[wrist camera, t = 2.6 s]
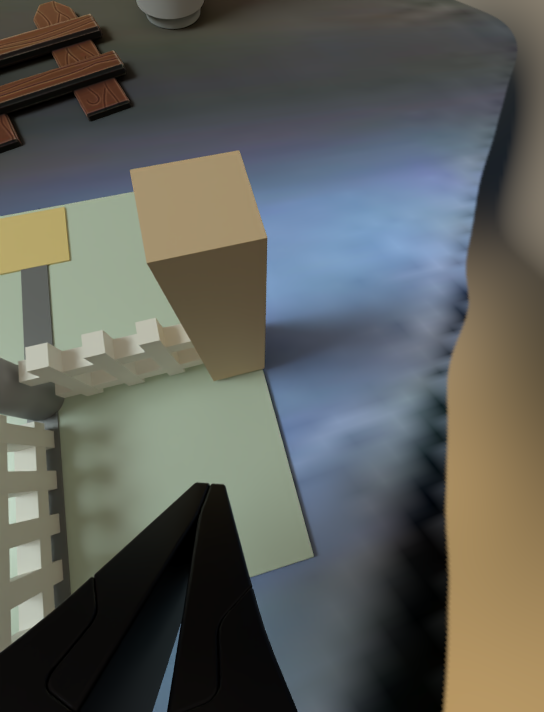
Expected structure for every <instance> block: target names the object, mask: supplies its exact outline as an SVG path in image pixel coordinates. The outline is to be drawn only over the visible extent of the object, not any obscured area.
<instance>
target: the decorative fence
mask: <svg viewBox="0 0 544 712" xmlns="http://www.w3.org/2000/svg"><path fill="white" fill-rule="evenodd" d="M34 22H35V24H36V26H37V28H38V29H36V30H33V31H29V32H26V33H23V34H19V35H16V36H12V37H9V38H5V39H2V40H0V69H1V68H4V67H7V66H10V65H14V64H17V63H20V62H24V61H27V60H30V59H33V58H37V57H40V56H43V55H46V54H50V53H52V55H53V57H54V59H55V60H56V62H57V64H58V66H59V68H56V69H53V70H50V71H47V72H43V73H40V74H37V75H34V76H31V77H27V78H24V79H21V80H18V81H15V82H12V83H8V84H5V85H2V86H0V153H2V152H5V151H8V150H11V149H13V148H16V147H19V146H21V145H22V143H21V141H20V139H19V137H18V135H17V133H16V130H15V128H14V126H13V124H12V122H11V119H10V117H9V115H8V114H9V113H12V112H15V111H18V110H21V109H24V108H27V107H30V106H33V105H36V104H39V103H42V102H45V101H48V100H51V99H54V98H57V97H60V96H63V95H66V94H69V93H72V92H73V93H74V94H75V96H76V98H77V100H78V102H79V103H80V105H81V107H82V109H83V111H84V112H85V114H86V116H87V118H88V120H89V121H93V120H96V119H99V118H102V117H105V116H108V115H110V114H113V113H116V112H119V111H122V110H125V109H128V108H130V107H131V103H130V101H129V99H128V98H127V96H126V94H125V93H124V91H123V90H122V88H121V86H120V85H119V83H118V81H117V80H116V78H118V77H121V76H124V75H126V72H127V71H126V68H125V66H124V64H123V63H122V61H121V59H120V58H119V56H118V55H117V53H116V52H115V51H110V52H107V53H104V54H100V53H99V51H98V49H97V48H96V46H95V45H94V43H93V41H92V40H96V39H99V38H102V31H101V29H100V27H99V25H98V24H97V22H96V21H95V19H94V18H93V16H92V15H90V14H88V15H85V16H81V17H77V16H76V14H75V12H74V11H73V9H71V8H70V7H67V6H65V5H62V4H60V3H57V2H54V1H51V2H48V3H44V4H41V5H39V7H38V10H37V12H36V14H35V17H34Z"/></svg>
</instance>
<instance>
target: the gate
mask: <svg viewBox="0 0 544 712" xmlns="http://www.w3.org/2000/svg"><path fill="white" fill-rule="evenodd" d="M130 173H131V179H132V184H133V190H134V195H135V201H136V207H137V212H138V218H139V223H140V229H141V235H142V240H143V246H144V251H145V257H146V263H147V265H148V266H149V268H150V270H151V272H152V273H153V275H154V277H155V279H156V281H157V282H158V284H159V286H160V288H161V289H162V291H163V293H164V295H165V296H166V298H167V300H168V302H169V303H170V305H171V307H172V309H173V310H174V312H175V314H176V316H177V317H178V319H179V321H180V323H181V324H177V325H172V326H168V327H164V328H163V327H162V326H161V324H160V323H159V322H158V320H157V319H156V318H152V319H148V320H143V321H139V322H135V325H136V332H137V334H134V335H129V336H125V337H121V338H116V339H113V338H111V337H110V336H109V335H108V334H107V333H106V332H104V331H103V330H100V331H95V332H91V333H86V334H82V335H81V339H82V347H77V348H73V349H69V350H64V351H61V350H60V349H58V348H56V347H54V346H53V345H51V344H49V343H43V344H38V345H34V346H29V347H25V355H26V360H21V361H18V368H19V382H20V383H23V384H26V385H28V386H35V385H39V384H43V383H48V382H53V383H55V394H56V395H57V396H60V397H63V398H67V397H71V396H75V395H79V394H83V395H85V396H91V395H95V394H99V393H103V392H104V391H103V388H107V387H111V386H115V385H119V384H123V383H125V384H127V385H128V386H131V385H135V384H139V383H143V382H145V378H148V377H152V376H156V375H160V374H164V373H167V374H168V375H169V376H171V375H175V374H179V373H183V372H185V368H188V367H192V366H196V365H200V364H204V365H205V367H206V369H207V370H208V372H209V374H210V376H211V377H212V379H213V381H217V380H221V379H225V378H228V377H232V376H236V375H240V374H244V373H248V372H252V371H256V370H260V369H264V368H265V323H266V273H267V236H266V233H265V229H264V226H263V223H262V220H261V217H260V214H259V211H258V207H257V204H256V201H255V198H254V195H253V192H252V189H251V186H250V182H249V179H248V176H247V173H246V170H245V167H244V164H243V161H242V157H241V154H240V151H233V152H227V153H222V154H216V155H211V156H205V157H199V158H194V159H188V160H182V161H177V162H171V163H166V164H160V165H154V166H149V167H143V168H137V169H132V170H130Z"/></svg>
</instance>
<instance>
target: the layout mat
mask: <svg viewBox="0 0 544 712" xmlns="http://www.w3.org/2000/svg"><path fill="white" fill-rule="evenodd" d="M152 318H156V319H157V320H158V322H159V323H160V324H161V326H162V327H163V328H164V327H168V326H172V325H177V324H181V323H180V321H179V319H178V317H177V316H176V314H175V312H174V310H173V309H172V307H171V305H170V303H169V302H168V300H167V298H166V296H165V295H164V293H163V291H162V289H161V288H160V286H159V284H158V282H157V281H156V279H155V277H154V275H153V273H152V272H151V270H150V268H149V266H148V265H147V263H146V257H145V251H144V246H143V240H142V235H141V229H140V223H139V218H138V212H137V207H136V201H135V195H134V192H130V193H125V194H119V195H114V196H109V197H103V198H98V199H92V200H87V201H82V202H76V203H71V204H65V205H60V206H55V207H49V208H44V209H38V210H33V211H28V212H22V213H17V214H11V215H6V216H1V217H0V358H2V359H4V360H7V361H9V362H12V363H14V364H16V365H18V361H21V360H26V355H25V347H29V346H34V345H38V344H43V343H49V344H51V345H53V346H54V347H56V348H58V349H60V350H61V351H64V350H69V349H73V348H77V347H82V339H81V335H82V334H86V333H91V332H95V331H100V330H103V331H104V332H106V333H107V334H108V335H109V336H110V337H111V338H113V339H116V338H121V337H125V336H129V335H134V334H137V332H136V325H135V322H139V321H143V320H148V319H152ZM103 391H104V392H103V393H99V394H95V395H91V396H85V395H83V394H79V395H75V396H71V397H67V398H64V402H63V405H62V407H61V408H60V410H59V411H57V412H56V413H55V414H54V415H52V416H51V417H49V418H47V419H45V420H41V421H35V422H40V423H44V427H45V430H50V431H54V444H55V448H52V449H48V450H46V463H47V471H56V475H57V489H54V490H50V491H48V498H49V515H53V514H58V513H59V521H60V533H57V534H54V535H51V551H52V562H54V561H57V560H61V559H62V567H63V580H62V581H60V582H59V583H57V584H55V585H53V587H54V604H55V608H56V607H58V606H59V605H60V604H61V603H62V602H63V601H64V600H66V599H67V598H68V597H69V596H70V595H71V594H72V593H74V592H75V591H76V590H77V589H78V588H79V587H80V586H81V585H83V584H84V583H85V582H86V581H87V580H88V579H89V578H90V577H94V574H95V573H96V572H98V571H99V570H100V569H101V568H102V567H103V566H104V565H105V564H106V563H107V562H109V561H110V560H111V559H112V558H113V557H114V556H115V555H116V554H117V553H118V552H120V551H121V550H122V549H123V548H124V547H125V546H126V545H127V544H128V543H129V542H131V541H132V540H133V539H134V538H135V537H136V536H137V535H138V534H139V533H140V532H142V531H143V530H144V529H145V528H146V527H147V526H148V525H149V524H150V523H151V522H153V521H154V520H155V519H156V518H157V517H158V516H159V515H160V514H161V513H162V512H163V511H165V510H166V509H167V508H168V507H169V506H170V505H171V504H172V503H173V502H174V501H176V500H177V499H178V498H179V497H180V496H181V495H182V494H183V493H184V492H185V491H187V490H188V489H189V488H190V487H191V486H192V485H193V484H194V483H196V482H201V483H209V484H210V485H211V484H212V483H215V484H224V485H225V486H226V489H227V493H228V497H229V501H230V504H231V508H232V512H233V516H234V520H235V523H236V527H237V531H238V535H239V539H240V542H241V546H242V550H243V554H244V557H245V561H246V565H247V569H248V573H249V576H250V577H253V576H256V575H259V574H262V573H265V572H268V571H271V570H274V569H277V568H280V567H283V566H287V565H290V564H293V563H296V562H299V561H302V560H305V559H308V558H311V557H314V555H313V551H312V547H311V544H310V540H309V537H308V533H307V529H306V526H305V522H304V518H303V515H302V511H301V507H300V504H299V500H298V496H297V493H296V489H295V485H294V482H293V478H292V474H291V471H290V467H289V464H288V460H287V456H286V453H285V449H284V445H283V442H282V438H281V434H280V431H279V427H278V423H277V420H276V416H275V412H274V409H273V405H272V402H271V398H270V394H269V391H268V387H267V383H266V380H265V376H264V372H263V369H260V370H256V371H252V372H248V373H244V374H240V375H236V376H232V377H228V378H225V379H221V380H217V381H213V379H212V377H211V376H210V374H209V372H208V370H207V369H206V367H205V365H204V364H200V365H196V366H192V367H188V368H185V372H183V373H179V374H175V375H171V376H169V375H168V374H167V373H164V374H160V375H156V376H152V377H148V378H145V382H143V383H139V384H135V385H131V386H128V385H127V384H125V383H123V384H119V385H115V386H111V387H107V388H103ZM0 415H2V414H0ZM5 416H7V415H5ZM30 422H34V421H32V420H27V419H22V418H17V417H12V416H7V423H10V424H16V425H22V424H26V423H30ZM7 462H8V471H15V466H14V452H7ZM8 508H9V524H13V523H16V502H15V497H11V498H8ZM9 555H10V578H13V577H15V576H17V547H13V548H10V549H9ZM18 631H19V611H18V606H16V607H14V608H13V609H11V636H12V635H14V634H15V633H17V632H18Z"/></svg>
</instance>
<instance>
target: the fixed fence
mask: <svg viewBox="0 0 544 712" xmlns="http://www.w3.org/2000/svg"><path fill="white" fill-rule="evenodd" d="M63 402H64V398H63V397H60V396H57V395H56V394H55V383H53V382H48V383H43V384H39V385H35V386H28V385H26V384H23V383H20V382H19V368H18V365H16V364H14V363H12V362H9V361H7V360H4V359H2V358H0V414H2V415H0V652H2V651H3V650H4V649H5V648H7V647H8V646H9V645H11V644H12V643H13V642H14V641H16V640H17V639H18V638H20V637H21V636H22V635H23V634H25V633H26V632H27V631H28V630H30V629H31V628H32V627H33V626H34V625H36V624H37V623H38V622H39V621H41V620H42V619H43V618H44V617H46V616H47V615H48V614H49V613H51V612H52V611H53V610H54V609H55V604H54V587H53V585H55V584H57V583H59V582H60V581H62V580H63V567H62V559H61V560H57V561H54V562H52V551H51V535H54V534H57V533H60V521H59V513H58V514H53V515H49V498H48V491H50V490H54V489H57V475H56V471H47V463H46V450H48V449H52V448H55V444H54V431H50V430H45V427H44V423H40V422H35V421H41V420H45V419H47V418H49V417H51V416H52V415H54V414H55V413H56V412H57V411H59V410H60V408H61V407H62V405H63ZM5 415H7V416H12V417H17V418H22V419H27V420H32V421H34V422H30V423H26V424H22V425H16V424H10V423H7V416H5ZM7 452H14V466H15V471H8V462H7ZM11 497H15V502H16V523H13V524H9V508H8V498H11ZM13 547H17V576H15V577H13V578H10V555H9V549H10V548H13ZM16 606H18V611H19V631H18V632H17V633H15V634H14V635H12V636H11V609H13V608H14V607H16Z"/></svg>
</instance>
